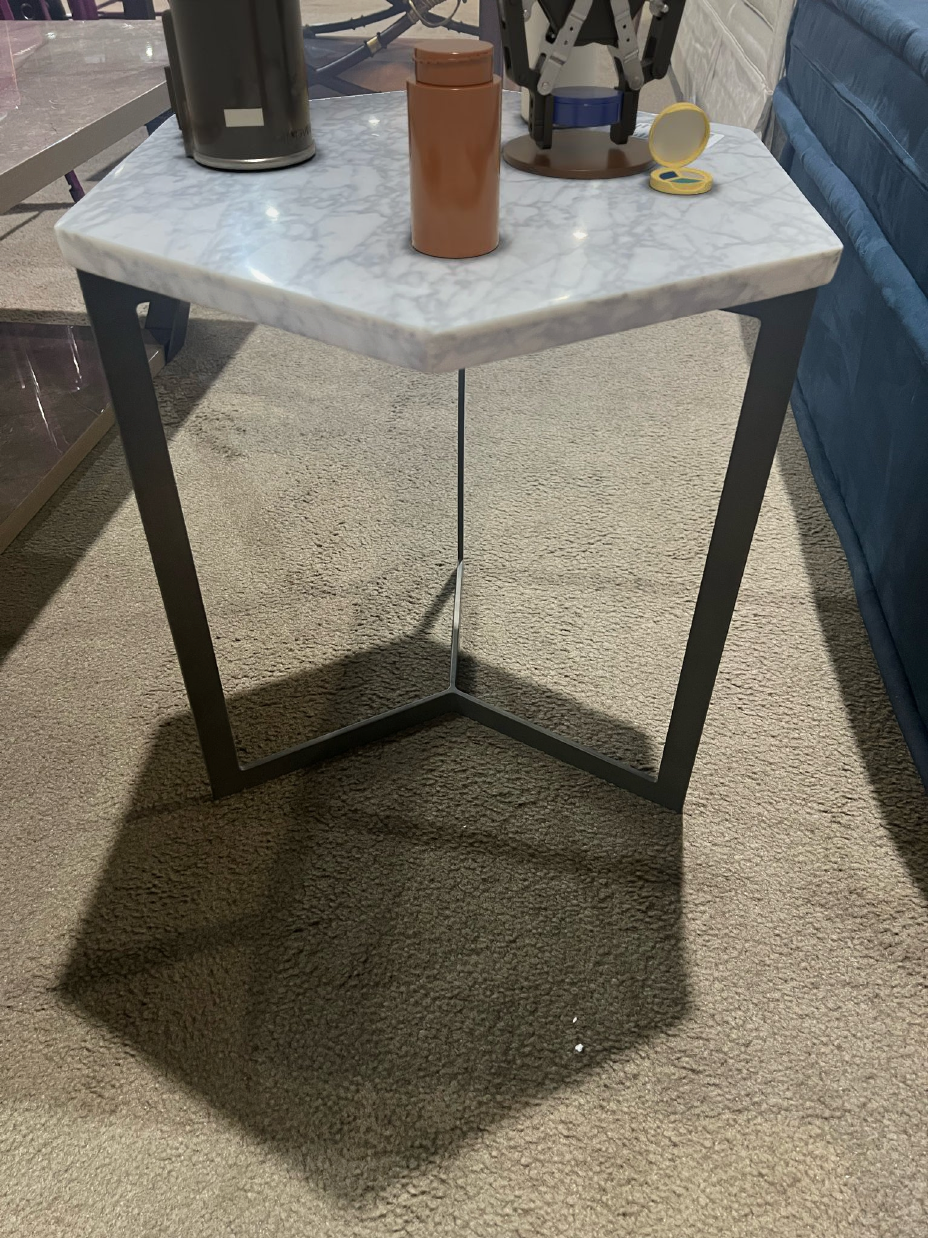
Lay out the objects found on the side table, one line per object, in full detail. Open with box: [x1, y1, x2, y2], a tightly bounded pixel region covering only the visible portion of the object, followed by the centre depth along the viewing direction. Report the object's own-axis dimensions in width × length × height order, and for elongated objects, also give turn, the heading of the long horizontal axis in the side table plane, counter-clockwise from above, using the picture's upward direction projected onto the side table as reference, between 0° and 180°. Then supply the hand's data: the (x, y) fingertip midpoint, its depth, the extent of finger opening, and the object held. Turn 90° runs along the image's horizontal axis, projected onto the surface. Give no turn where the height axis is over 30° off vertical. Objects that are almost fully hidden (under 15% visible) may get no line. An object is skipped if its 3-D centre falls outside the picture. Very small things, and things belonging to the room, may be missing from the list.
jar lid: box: [551, 85, 623, 128], centre depth 70 cm, size 6×6×2 cm
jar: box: [405, 38, 503, 259], centre depth 54 cm, size 5×5×11 cm
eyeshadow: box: [647, 101, 714, 195], centre depth 66 cm, size 4×5×5 cm
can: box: [520, 1, 601, 129], centre depth 78 cm, size 6×6×12 cm
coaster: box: [502, 129, 657, 180], centre depth 73 cm, size 12×12×1 cm
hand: (581, 143), depth 72 cm, fingers closed on jar lid, 5 cm apart
